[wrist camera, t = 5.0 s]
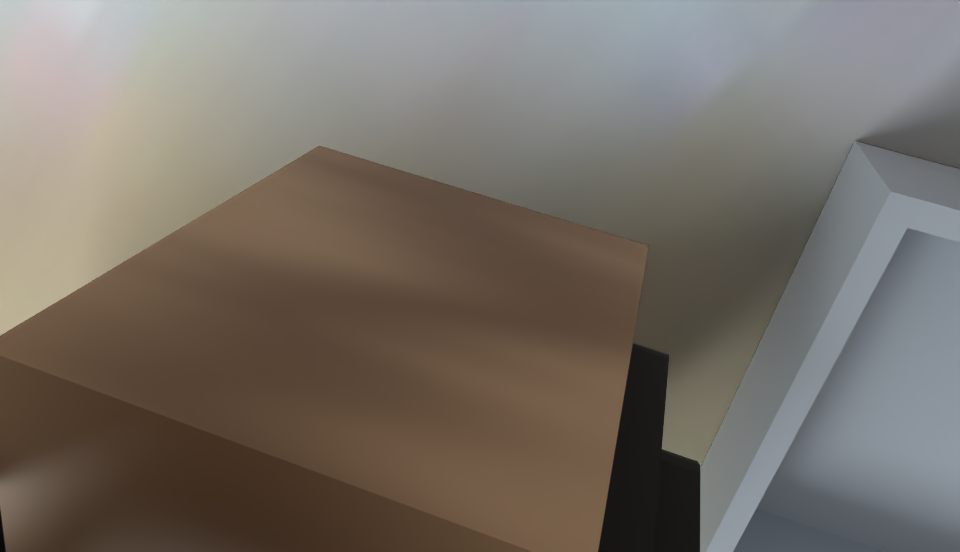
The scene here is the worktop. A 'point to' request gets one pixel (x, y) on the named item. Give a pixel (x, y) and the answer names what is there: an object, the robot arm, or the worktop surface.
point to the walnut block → (327, 378)
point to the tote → (853, 380)
